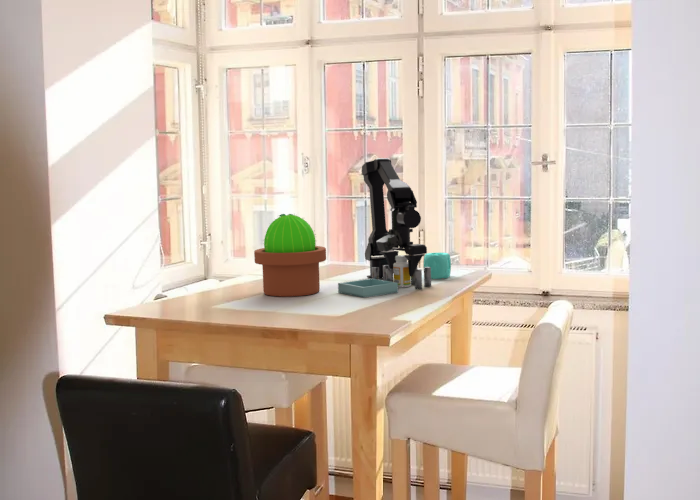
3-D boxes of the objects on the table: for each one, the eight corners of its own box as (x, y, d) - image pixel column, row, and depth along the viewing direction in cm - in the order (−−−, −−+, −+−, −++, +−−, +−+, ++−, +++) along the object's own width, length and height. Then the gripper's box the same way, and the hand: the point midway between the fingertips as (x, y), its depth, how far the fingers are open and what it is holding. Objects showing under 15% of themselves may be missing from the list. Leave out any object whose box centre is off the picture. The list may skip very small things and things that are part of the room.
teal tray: (338, 292, 273) (338, 283, 273) (372, 288, 281) (371, 278, 281) (363, 297, 263) (363, 287, 263) (397, 292, 270) (397, 282, 270)
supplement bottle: (411, 284, 285) (410, 254, 284) (410, 287, 280) (409, 256, 279) (394, 285, 286) (393, 255, 285) (393, 287, 280) (392, 257, 279)
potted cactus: (317, 298, 264) (314, 214, 261) (247, 298, 268) (243, 215, 265) (333, 287, 285) (331, 209, 282) (268, 287, 289) (265, 210, 287)
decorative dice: (451, 275, 303) (450, 252, 302) (447, 279, 296) (446, 255, 295) (428, 275, 306) (427, 252, 305) (423, 278, 298) (423, 255, 297)
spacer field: (367, 285, 286) (366, 267, 285) (400, 281, 294) (400, 263, 293) (402, 291, 271) (402, 272, 271) (436, 286, 279) (436, 267, 279)
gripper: (362, 226, 284) (364, 274, 285) (399, 229, 269) (400, 280, 270) (390, 223, 290) (391, 271, 292) (427, 226, 275) (428, 276, 277)
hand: (401, 274), depth 283 cm, fingers open, 9 cm apart
